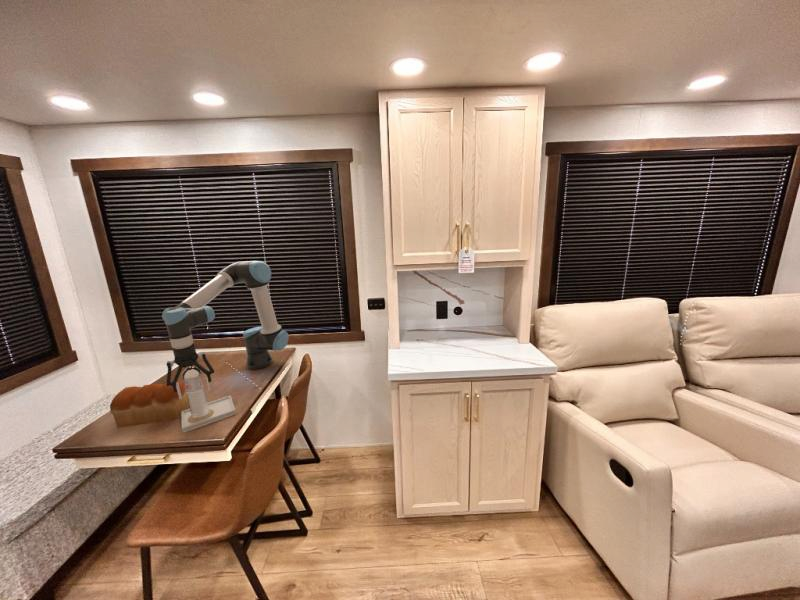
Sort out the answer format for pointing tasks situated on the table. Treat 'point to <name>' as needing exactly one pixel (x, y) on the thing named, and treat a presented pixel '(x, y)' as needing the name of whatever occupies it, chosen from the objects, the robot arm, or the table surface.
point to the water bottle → (195, 392)
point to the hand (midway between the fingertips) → (195, 393)
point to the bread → (148, 404)
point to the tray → (216, 412)
